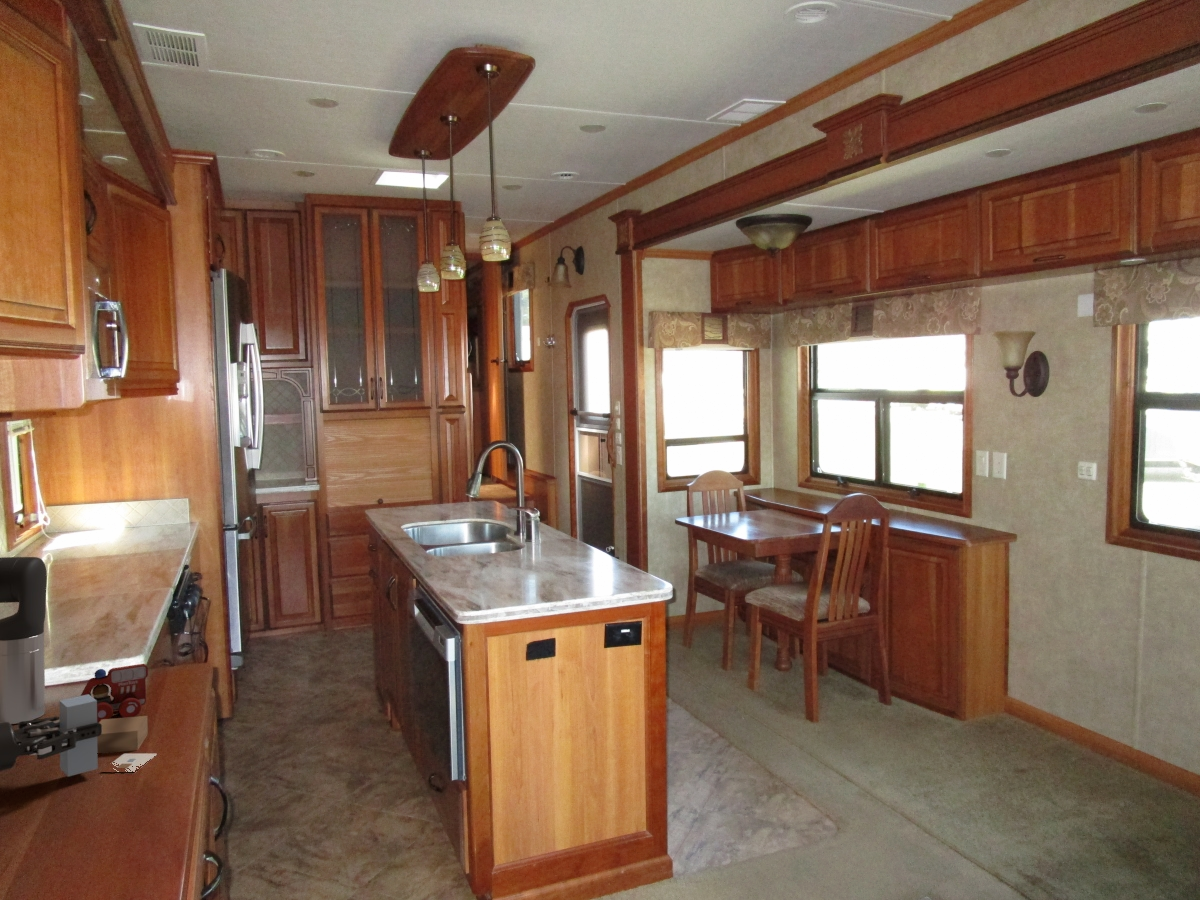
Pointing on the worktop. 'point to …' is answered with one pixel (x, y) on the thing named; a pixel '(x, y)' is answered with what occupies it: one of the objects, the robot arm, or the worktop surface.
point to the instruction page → (132, 761)
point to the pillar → (85, 752)
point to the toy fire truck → (119, 690)
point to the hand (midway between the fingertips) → (95, 724)
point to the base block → (122, 734)
